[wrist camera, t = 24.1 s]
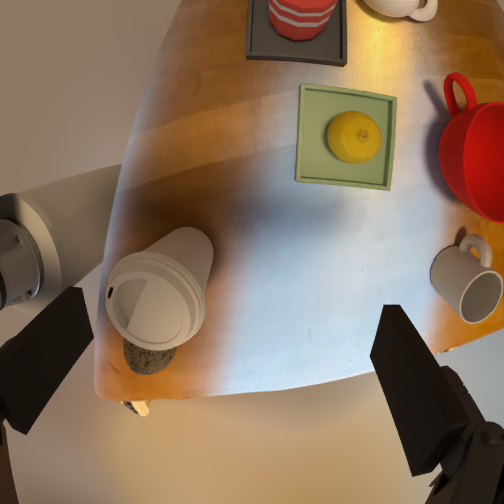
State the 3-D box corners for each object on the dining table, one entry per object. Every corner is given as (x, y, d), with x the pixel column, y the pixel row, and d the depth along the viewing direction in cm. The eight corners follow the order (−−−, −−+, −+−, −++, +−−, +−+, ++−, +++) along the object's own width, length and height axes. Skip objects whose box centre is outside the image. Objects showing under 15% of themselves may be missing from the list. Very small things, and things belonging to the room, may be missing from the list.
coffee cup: (191, 198, 37) (143, 237, 22) (241, 258, 39) (224, 327, 25) (139, 244, 39) (79, 299, 25) (186, 298, 41) (150, 371, 27)
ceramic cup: (454, 64, 28) (499, 51, 18) (504, 174, 32) (550, 188, 23) (384, 103, 31) (422, 94, 22) (444, 220, 35) (486, 246, 26)
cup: (423, 290, 39) (450, 323, 30) (442, 221, 35) (478, 243, 27) (460, 293, 39) (490, 324, 30) (479, 229, 35) (516, 251, 27)
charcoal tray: (246, 59, 30) (245, 55, 29) (250, -17, 26) (249, -24, 25) (343, 67, 30) (346, 63, 28) (342, -10, 26) (345, -16, 24)
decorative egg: (143, 297, 42) (114, 338, 33) (189, 318, 42) (169, 364, 33) (133, 333, 44) (107, 375, 35) (175, 352, 45) (157, 398, 36)
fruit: (336, 169, 34) (353, 178, 26) (312, 126, 32) (324, 123, 25) (376, 148, 33) (403, 152, 25) (354, 105, 31) (376, 97, 24)
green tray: (294, 179, 35) (295, 182, 33) (299, 86, 31) (300, 83, 29) (384, 188, 35) (390, 191, 33) (391, 98, 31) (397, 97, 29)
